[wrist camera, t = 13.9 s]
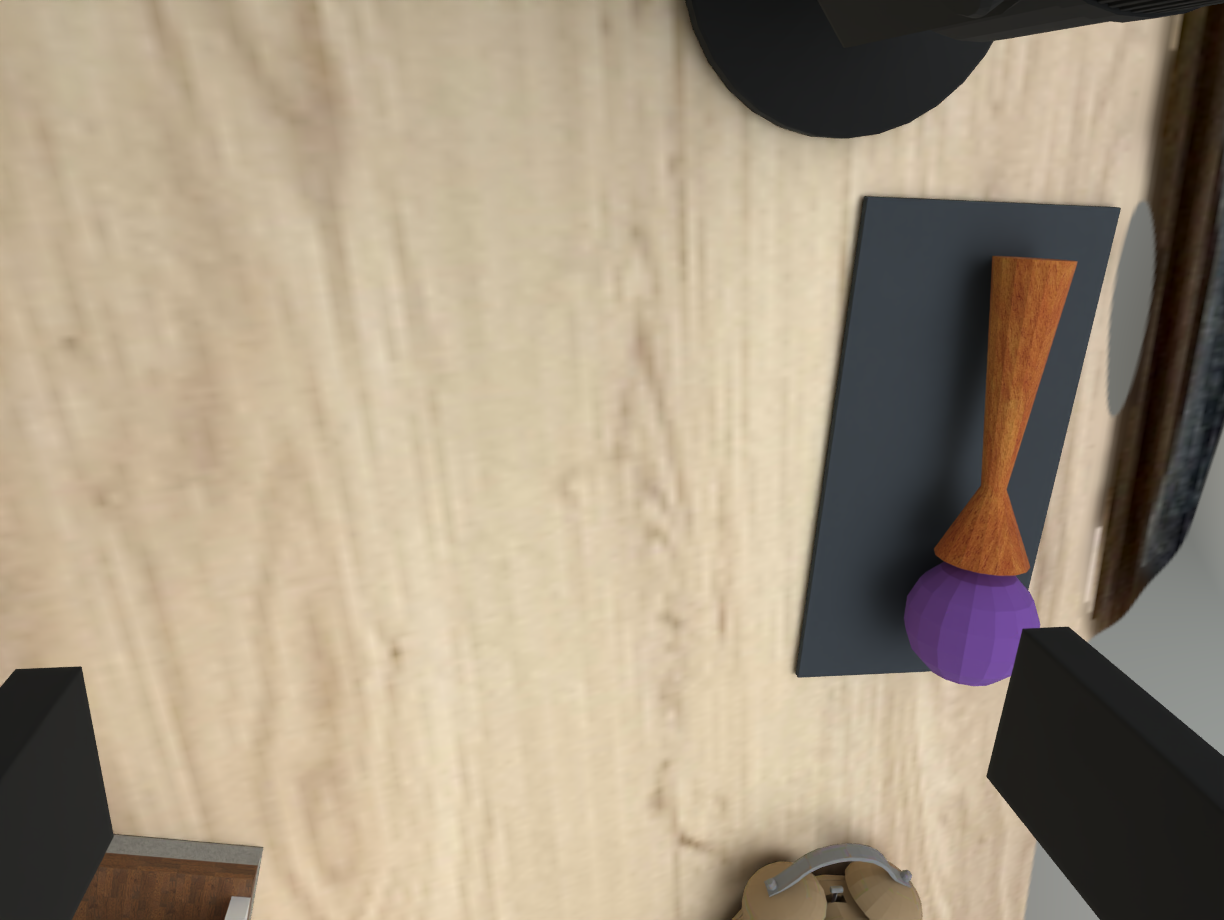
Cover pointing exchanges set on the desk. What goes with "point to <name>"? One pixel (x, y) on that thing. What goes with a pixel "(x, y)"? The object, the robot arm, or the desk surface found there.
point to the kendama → (992, 493)
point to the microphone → (875, 51)
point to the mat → (932, 409)
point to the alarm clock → (832, 889)
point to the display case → (172, 881)
